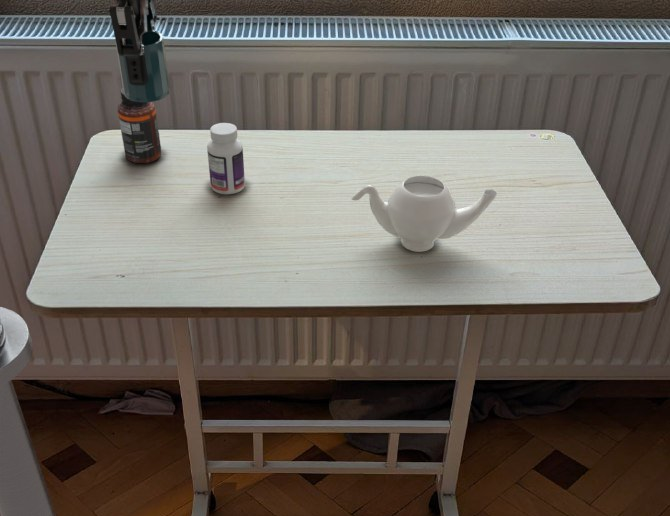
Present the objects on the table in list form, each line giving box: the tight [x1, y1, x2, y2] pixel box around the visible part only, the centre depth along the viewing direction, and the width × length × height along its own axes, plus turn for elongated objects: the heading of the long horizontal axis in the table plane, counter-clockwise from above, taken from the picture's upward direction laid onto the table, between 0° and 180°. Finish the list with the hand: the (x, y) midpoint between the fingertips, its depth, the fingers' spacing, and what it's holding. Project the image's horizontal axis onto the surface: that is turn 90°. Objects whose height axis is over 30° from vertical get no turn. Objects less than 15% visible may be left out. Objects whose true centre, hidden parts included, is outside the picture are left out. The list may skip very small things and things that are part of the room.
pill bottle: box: [206, 122, 246, 195], centre depth 128 cm, size 5×5×10 cm
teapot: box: [350, 175, 497, 253], centre depth 118 cm, size 10×20×9 cm, turn 82°
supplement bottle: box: [117, 87, 162, 164], centre depth 134 cm, size 6×6×11 cm
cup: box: [114, 29, 170, 103], centre depth 106 cm, size 6×6×7 cm
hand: (143, 73), depth 106 cm, fingers closed on cup, 5 cm apart
